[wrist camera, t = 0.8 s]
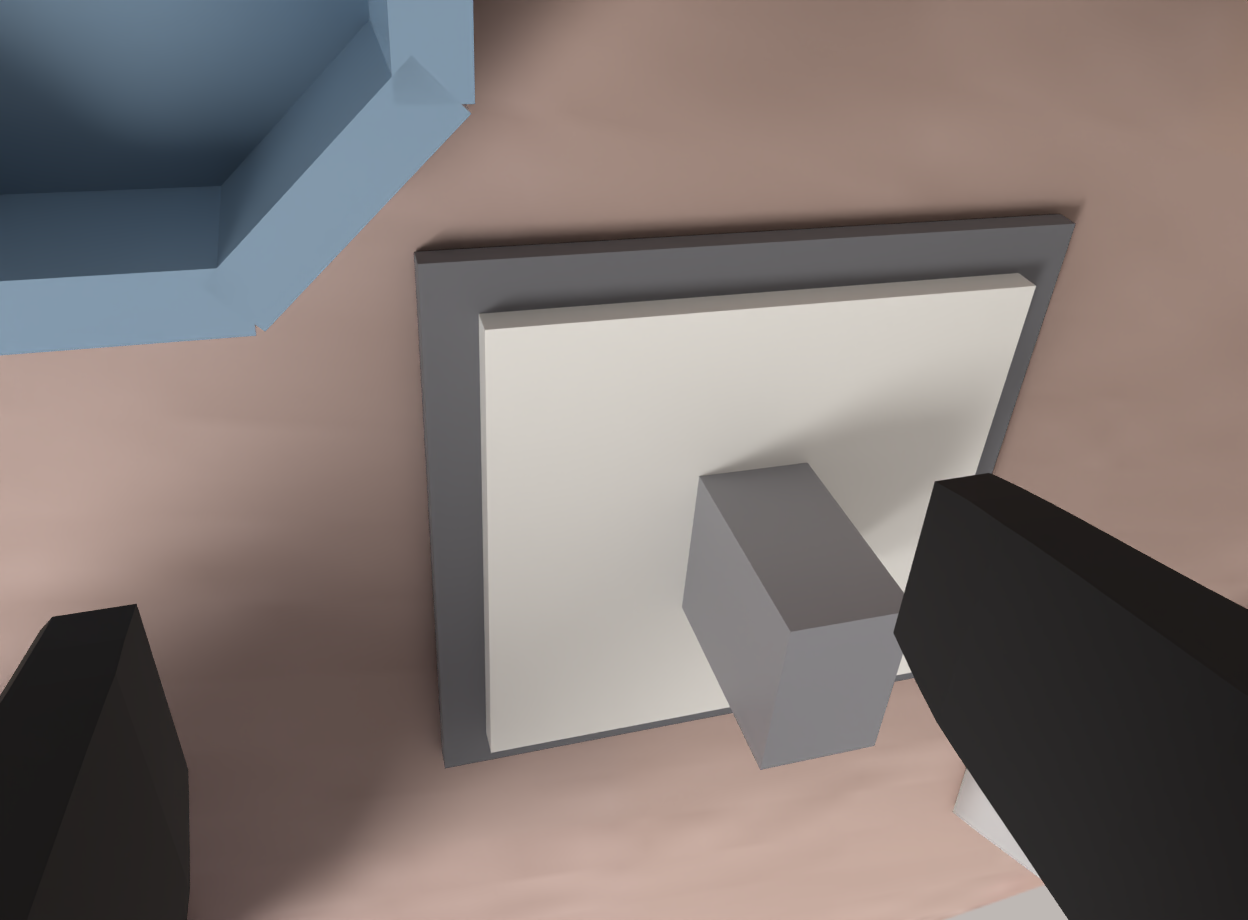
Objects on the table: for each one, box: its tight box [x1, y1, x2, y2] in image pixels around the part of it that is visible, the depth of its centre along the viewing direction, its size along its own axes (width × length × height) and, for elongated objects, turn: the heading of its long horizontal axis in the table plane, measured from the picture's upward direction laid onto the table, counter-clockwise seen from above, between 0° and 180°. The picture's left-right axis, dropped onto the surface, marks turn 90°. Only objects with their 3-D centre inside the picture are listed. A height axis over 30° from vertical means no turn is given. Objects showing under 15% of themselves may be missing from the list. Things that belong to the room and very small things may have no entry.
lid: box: [479, 273, 1036, 770], centre depth 21 cm, size 11×11×5 cm
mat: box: [414, 214, 1075, 768], centre depth 23 cm, size 13×13×1 cm
